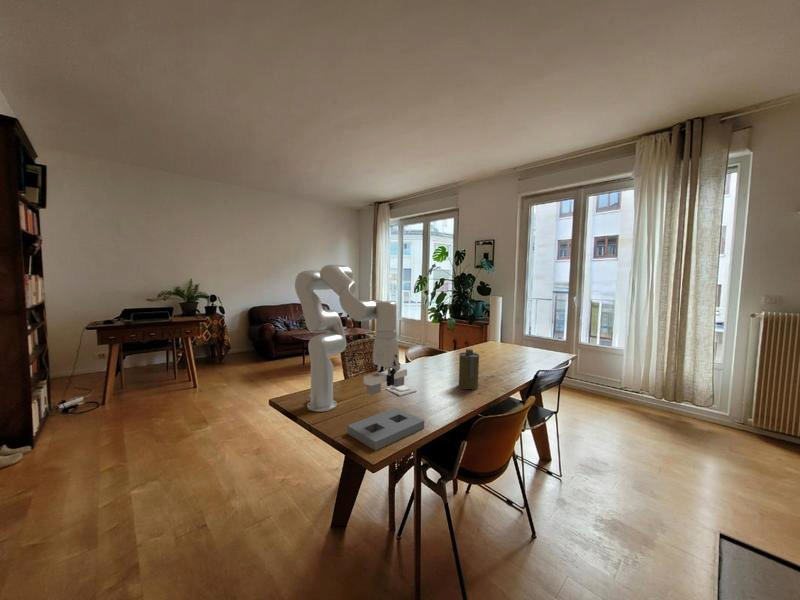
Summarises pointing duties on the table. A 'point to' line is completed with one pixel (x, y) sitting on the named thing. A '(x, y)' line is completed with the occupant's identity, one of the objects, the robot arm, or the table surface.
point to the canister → (468, 370)
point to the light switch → (401, 390)
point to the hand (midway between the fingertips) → (386, 383)
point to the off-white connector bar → (383, 380)
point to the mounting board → (385, 428)
